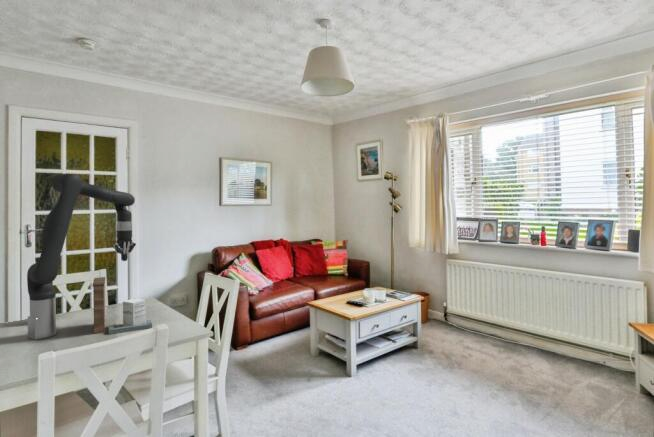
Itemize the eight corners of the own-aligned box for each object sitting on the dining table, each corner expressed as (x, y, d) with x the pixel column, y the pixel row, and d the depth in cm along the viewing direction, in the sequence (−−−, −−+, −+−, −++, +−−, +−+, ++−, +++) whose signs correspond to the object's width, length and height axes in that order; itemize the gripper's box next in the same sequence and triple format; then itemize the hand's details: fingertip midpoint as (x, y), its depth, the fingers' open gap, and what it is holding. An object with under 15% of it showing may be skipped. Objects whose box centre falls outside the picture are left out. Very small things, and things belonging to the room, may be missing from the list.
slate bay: (109, 329, 170) (109, 325, 170) (151, 323, 179) (150, 319, 179) (108, 334, 164) (108, 330, 164) (152, 328, 173) (152, 323, 173)
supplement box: (122, 326, 175) (122, 301, 174) (135, 322, 182) (135, 297, 181) (133, 328, 172) (132, 303, 171) (146, 324, 179) (146, 299, 178)
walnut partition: (104, 332, 166) (104, 283, 166) (93, 334, 164) (92, 284, 163) (105, 322, 181) (105, 277, 180) (95, 323, 178) (94, 277, 178)
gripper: (117, 230, 189) (117, 262, 190) (139, 229, 201) (139, 259, 202) (108, 229, 192) (108, 261, 193) (130, 228, 204) (130, 258, 205)
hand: (124, 260), depth 197 cm, fingers closed
